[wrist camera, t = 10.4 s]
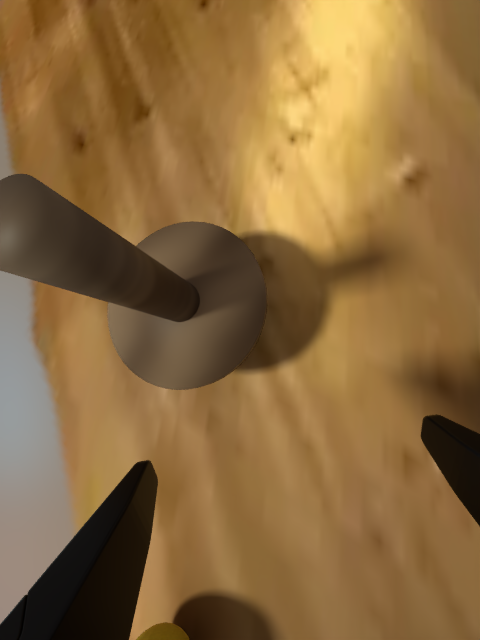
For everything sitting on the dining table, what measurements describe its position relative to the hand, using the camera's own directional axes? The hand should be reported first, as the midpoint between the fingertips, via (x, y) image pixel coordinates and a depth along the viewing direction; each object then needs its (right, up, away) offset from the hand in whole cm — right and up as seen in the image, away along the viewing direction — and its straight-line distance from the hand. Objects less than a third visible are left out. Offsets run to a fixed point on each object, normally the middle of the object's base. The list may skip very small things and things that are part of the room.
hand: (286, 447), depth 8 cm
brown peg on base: (-6, +5, +11) cm, 13 cm away
